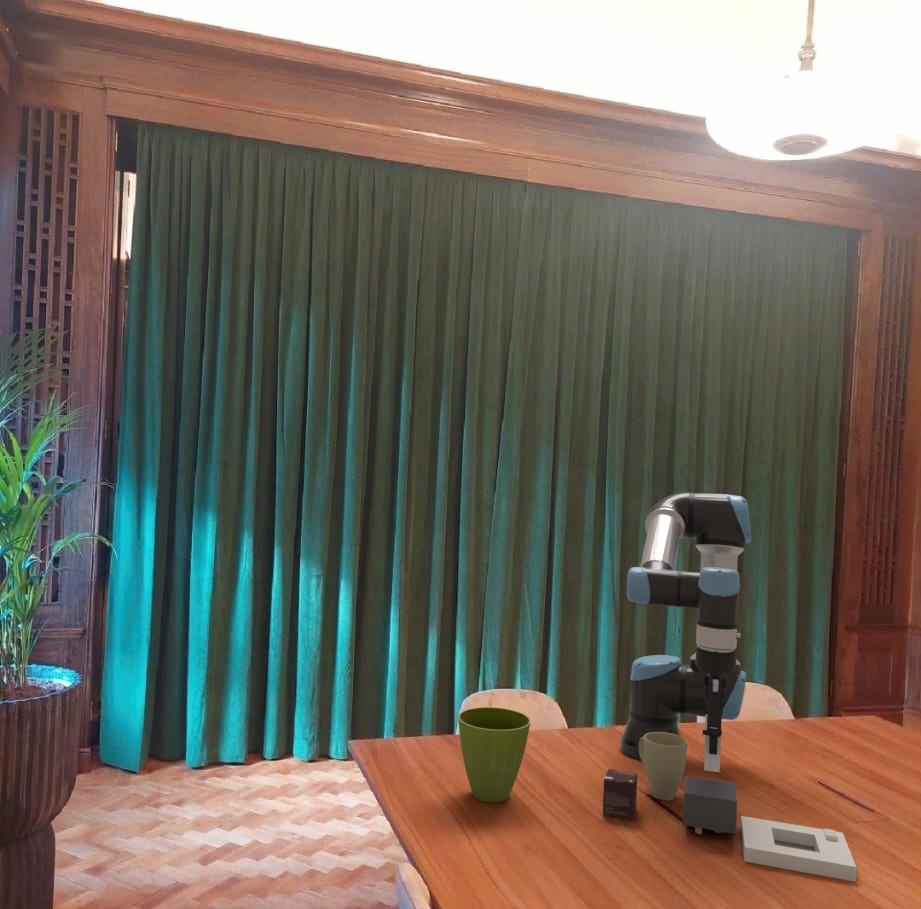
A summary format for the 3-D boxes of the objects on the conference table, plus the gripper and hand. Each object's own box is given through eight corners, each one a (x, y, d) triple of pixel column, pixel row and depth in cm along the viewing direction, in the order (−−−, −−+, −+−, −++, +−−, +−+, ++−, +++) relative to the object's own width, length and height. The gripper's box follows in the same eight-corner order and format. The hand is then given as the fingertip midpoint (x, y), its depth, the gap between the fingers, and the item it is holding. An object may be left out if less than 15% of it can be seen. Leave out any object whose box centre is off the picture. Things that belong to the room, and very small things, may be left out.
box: (636, 809, 161) (638, 773, 161) (633, 821, 155) (634, 783, 155) (606, 804, 163) (608, 768, 163) (601, 815, 157) (603, 778, 157)
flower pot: (504, 818, 154) (508, 735, 154) (440, 798, 162) (444, 718, 162) (538, 793, 166) (542, 717, 167) (477, 776, 174) (481, 703, 175)
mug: (688, 791, 172) (691, 735, 172) (681, 808, 163) (683, 749, 163) (638, 780, 176) (640, 726, 177) (627, 796, 167) (630, 739, 168)
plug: (682, 835, 150) (684, 792, 150) (683, 815, 159) (685, 775, 159) (735, 844, 147) (737, 801, 147) (733, 823, 156) (735, 783, 157)
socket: (744, 861, 141) (744, 842, 141) (740, 828, 154) (741, 811, 154) (855, 881, 136) (856, 862, 136) (842, 846, 149) (842, 828, 149)
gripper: (739, 663, 141) (734, 784, 140) (734, 639, 165) (729, 742, 164) (695, 658, 143) (690, 777, 142) (696, 635, 167) (691, 737, 166)
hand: (711, 759), depth 153 cm, fingers open, 13 cm apart
